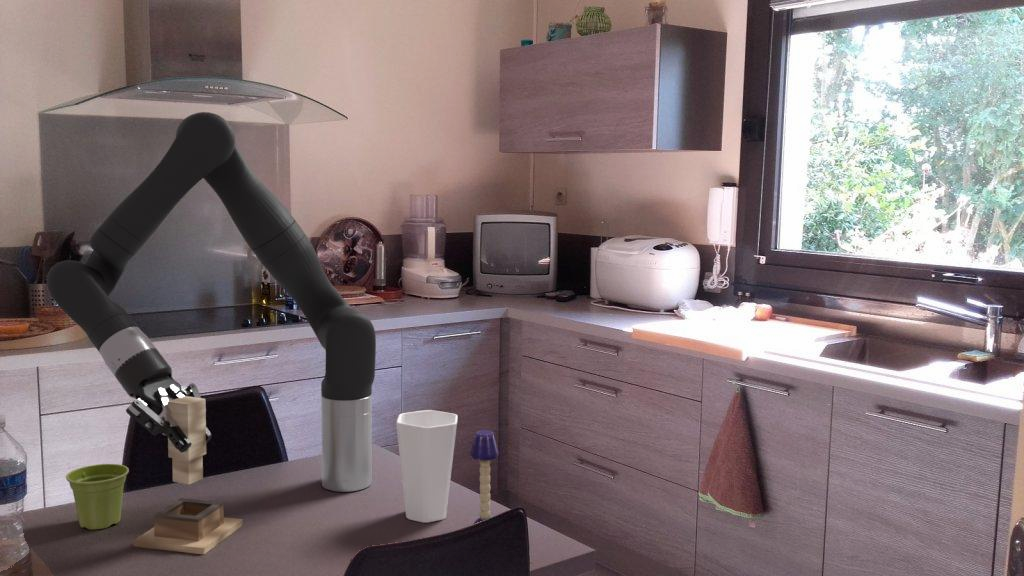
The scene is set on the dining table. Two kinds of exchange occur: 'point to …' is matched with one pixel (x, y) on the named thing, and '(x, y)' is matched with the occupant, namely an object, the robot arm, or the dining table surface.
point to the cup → (426, 462)
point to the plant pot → (98, 494)
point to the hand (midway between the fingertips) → (197, 444)
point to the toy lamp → (484, 467)
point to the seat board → (189, 527)
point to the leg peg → (193, 425)
